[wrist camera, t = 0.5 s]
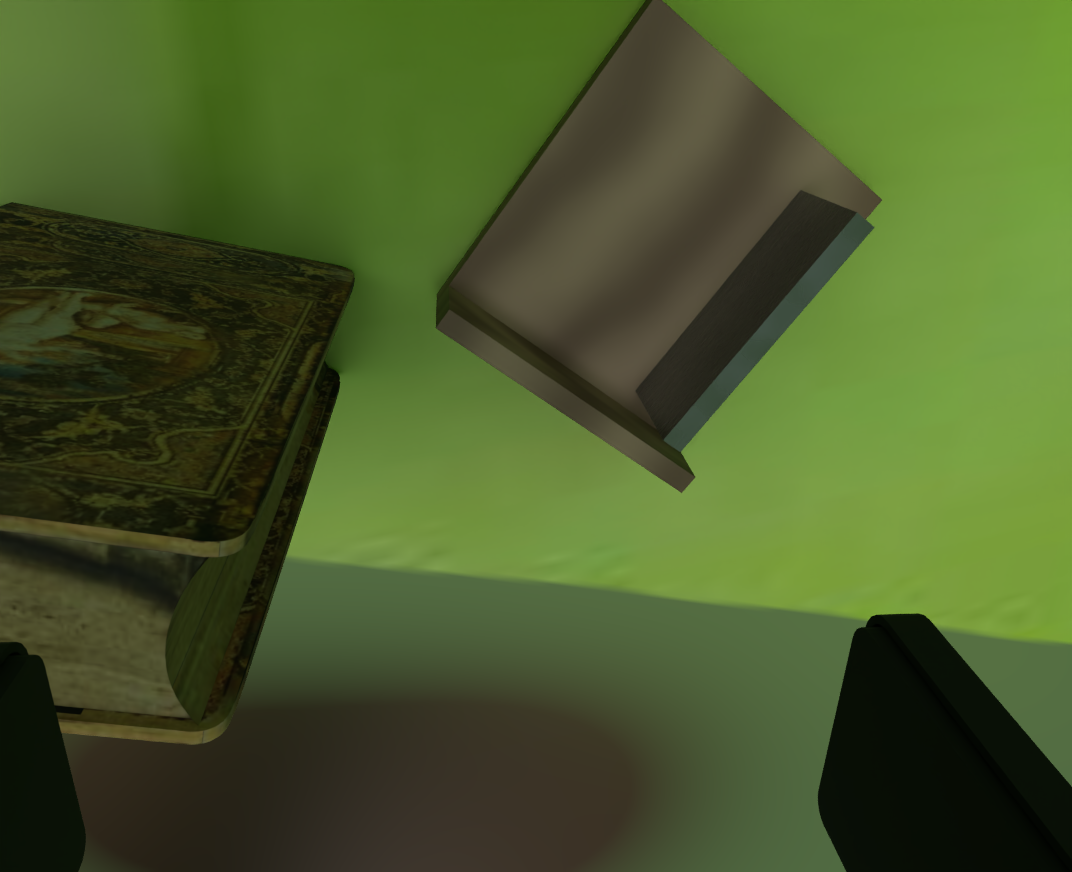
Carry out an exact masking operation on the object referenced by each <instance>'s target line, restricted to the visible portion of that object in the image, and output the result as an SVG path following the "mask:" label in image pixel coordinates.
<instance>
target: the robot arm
mask: <svg viewBox="0 0 1072 872" xmlns="http://www.w3.org/2000/svg"><path fill="white" fill-rule="evenodd" d="M818 805H819V812H820V816H821V819H822V822H823V824H824V827H825V829H826V831H827V833H828V835H829V837H830V839H831V841H832V843H833V845H834V847H835V849H836V851H837V853H838V855H839V857H840V859H841V862H842V864H843V866H844V868H845V870H846V872H1072V787H1071V785H1070V784H1069V783H1068V782H1067V781H1066V779H1065V778H1064V777H1063V776H1062V775H1061V774H1060V772H1059V771H1058V770H1057V769H1056V768H1055V767H1054V765H1053V764H1052V763H1051V762H1050V761H1049V760H1048V758H1047V757H1046V756H1045V755H1044V754H1043V753H1042V751H1041V750H1040V749H1039V748H1038V747H1037V746H1036V744H1035V743H1034V742H1033V741H1032V740H1031V738H1030V737H1029V736H1028V735H1027V734H1026V732H1025V731H1024V730H1023V729H1022V728H1021V727H1020V726H1019V724H1018V723H1017V722H1016V721H1015V720H1014V719H1013V717H1012V716H1011V715H1010V714H1009V713H1008V711H1007V710H1006V709H1005V708H1004V707H1003V706H1002V704H1001V703H1000V702H999V701H998V700H997V698H996V697H995V696H994V695H993V694H992V693H991V692H990V690H989V689H988V688H987V687H986V686H985V684H984V683H983V682H982V681H981V680H980V679H979V677H978V676H977V675H976V674H975V673H974V671H973V670H972V669H971V668H970V667H969V666H968V664H967V663H966V662H965V661H964V660H963V659H962V657H961V656H960V655H959V654H958V653H957V651H956V650H955V649H954V648H953V647H952V646H951V644H950V643H949V642H948V641H947V640H946V639H945V637H944V636H943V635H942V634H941V633H940V631H939V630H938V629H937V628H936V627H935V626H934V624H933V623H932V622H931V621H930V620H929V619H928V618H927V617H926V616H924V615H922V614H887V615H875V616H872V617H871V618H870V619H869V620H868V622H867V624H866V627H861V628H858V629H857V630H856V631H855V633H854V636H853V639H852V643H851V648H850V652H849V657H848V661H847V666H846V670H845V675H844V679H843V684H842V688H841V692H840V697H839V701H838V706H837V711H836V715H835V719H834V724H833V728H832V732H831V737H830V742H829V746H828V750H827V755H826V759H825V764H824V768H823V773H822V777H821V782H820V786H819V791H818ZM85 843H86V834H85V827H84V823H83V820H82V815H81V811H80V807H79V803H78V799H77V795H76V791H75V787H74V783H73V778H72V774H71V770H70V766H69V763H68V758H67V754H66V750H65V746H64V742H63V738H62V734H61V730H60V725H59V721H58V717H57V713H56V709H55V705H54V701H53V697H52V693H51V689H50V685H49V681H48V677H47V672H46V668H45V665H44V662H43V659H42V658H41V657H40V656H39V655H29V654H28V652H27V649H26V648H25V646H24V645H23V644H22V643H19V642H0V872H78V871H79V868H80V866H81V863H82V860H83V856H84V851H85Z"/></svg>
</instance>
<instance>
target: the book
mask: <svg viewBox="0 0 1072 872" xmlns="http://www.w3.org/2000/svg"><path fill="white" fill-rule="evenodd" d="M354 280H355V278H354V273H353V272H352V271H351V270H350V269H348V268H345V267H342V266H338V265H333V264H328V263H323V262H318V261H313V260H308V259H303V258H298V257H293V256H289V255H284V254H279V253H274V252H268V251H263V250H258V249H253V248H247V247H242V246H237V245H232V244H226V243H221V242H216V241H211V240H205V239H200V238H195V237H190V236H185V235H179V234H174V233H169V232H164V231H158V230H153V229H148V228H143V227H137V226H132V225H127V224H122V223H116V222H111V221H106V220H101V219H95V218H90V217H85V216H80V215H74V214H69V213H64V212H59V211H54V210H48V209H43V208H38V207H33V206H27V205H22V204H17V203H8V204H6V205H3V206H0V642H19V643H22V644H23V645H24V646H25V648H26V649H27V652H28V654H29V655H39V656H40V657H41V658H42V659H43V662H44V665H45V668H46V672H47V677H48V681H49V685H50V689H51V693H52V697H53V701H54V705H55V709H56V713H57V717H58V721H59V725H60V730H61V733H71V734H82V735H93V736H104V737H116V738H125V739H136V740H147V741H159V742H169V743H179V744H201V743H205V742H209V741H211V740H213V739H215V738H217V737H218V736H219V735H221V734H222V733H223V732H224V731H225V730H226V728H227V727H228V725H229V723H230V721H231V718H232V716H233V714H234V712H235V710H236V707H237V704H238V701H239V699H240V696H241V693H242V690H243V687H244V684H245V681H246V678H247V675H248V672H249V669H250V666H251V663H252V659H253V656H254V653H255V650H256V647H257V644H258V641H259V638H260V635H261V632H262V629H263V625H264V622H265V619H266V616H267V613H268V610H269V607H270V604H271V601H272V598H273V594H274V591H275V588H276V585H277V582H278V579H279V576H280V573H281V569H282V567H283V563H284V560H285V557H286V554H287V551H288V548H289V545H290V542H291V539H292V536H293V532H294V529H295V526H296V523H297V520H298V517H299V514H300V511H301V508H302V505H303V501H304V498H305V495H306V492H307V489H308V486H309V483H310V480H311V477H312V474H313V470H314V467H315V464H316V461H317V458H318V455H319V452H320V449H321V446H322V443H323V439H324V436H325V433H326V430H327V427H328V424H329V421H330V418H331V415H332V412H333V408H334V405H335V402H336V399H337V395H338V392H339V387H340V381H339V380H340V376H339V374H338V373H337V372H336V371H335V370H333V369H331V368H328V366H327V365H326V363H325V362H324V360H325V357H326V355H327V352H328V350H329V347H330V345H331V342H332V340H333V337H334V335H335V332H336V330H337V327H338V325H339V322H340V320H341V317H342V315H343V312H344V310H345V308H346V305H347V303H348V300H349V298H350V295H351V292H352V289H353V286H354Z"/></svg>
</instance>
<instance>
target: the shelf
mask: <svg viewBox="0 0 1072 872" xmlns="http://www.w3.org/2000/svg"><path fill="white" fill-rule="evenodd" d="M881 201H882V199H881V198H880V197H878V196H877V195H876V194H875V193H874V192H873V191H872V190H871V189H870V188H869V187H867V186H866V185H865V184H864V183H863V182H862V181H861V180H860V179H859V178H857V177H856V176H855V175H854V174H853V173H852V172H851V171H850V170H849V169H848V168H846V167H845V166H844V165H843V164H842V163H841V162H840V161H839V160H838V159H837V158H835V157H834V156H833V155H832V154H831V153H830V152H829V151H828V150H827V149H825V148H824V147H823V146H822V145H821V144H820V143H819V142H818V141H817V140H816V139H814V138H813V137H812V136H811V135H810V134H809V133H808V132H807V131H806V130H804V129H803V128H802V127H801V126H800V125H799V124H798V123H797V122H796V121H795V120H793V119H792V118H791V117H790V116H789V115H788V114H787V113H786V112H785V111H784V110H782V109H781V108H780V107H779V106H778V105H777V104H776V103H775V102H774V101H772V100H771V99H770V98H769V97H768V96H767V95H766V94H765V93H764V92H763V91H761V90H760V89H759V88H758V87H757V86H756V85H755V84H754V83H753V82H752V81H750V80H749V79H748V78H747V77H746V76H745V75H744V74H743V73H742V72H740V71H739V70H738V69H737V68H736V67H735V66H734V65H733V64H732V63H731V62H729V61H728V60H727V59H726V58H725V57H724V56H723V55H722V54H721V53H719V52H718V51H717V50H716V49H715V48H714V47H713V46H712V45H711V44H710V43H708V42H707V41H706V40H705V39H704V38H703V37H702V36H701V35H700V34H699V33H697V32H696V31H695V30H694V29H693V28H692V27H691V26H690V25H689V24H687V23H686V22H685V21H684V20H683V19H682V18H681V17H680V16H679V15H678V14H676V13H675V12H674V11H673V10H672V9H671V8H670V7H669V6H668V5H667V4H665V3H664V2H663V1H662V0H646V1H645V3H644V4H643V6H642V7H641V8H640V10H639V11H638V13H637V14H636V15H635V17H634V18H633V20H632V21H631V22H630V24H629V25H628V27H627V28H626V29H625V31H624V32H623V34H622V35H621V36H620V38H619V39H618V41H617V42H616V43H615V45H614V46H613V48H612V49H611V51H610V52H609V53H608V55H607V56H606V58H605V59H604V60H603V62H602V63H601V65H600V66H599V67H598V69H597V70H596V72H595V73H594V74H593V76H592V77H591V79H590V80H589V81H588V83H587V84H586V86H585V87H584V88H583V90H582V91H581V93H580V94H579V95H578V97H577V98H576V100H575V101H574V102H573V104H572V105H571V107H570V108H569V110H568V111H567V112H566V114H565V115H564V117H563V118H562V119H561V121H560V122H559V124H558V125H557V126H556V128H555V129H554V131H553V132H552V133H551V135H550V136H549V138H548V139H547V140H546V142H545V143H544V145H543V146H542V147H541V149H540V150H539V152H538V153H537V154H536V156H535V157H534V159H533V160H532V161H531V163H530V164H529V166H528V167H527V168H526V170H525V171H524V173H523V174H522V176H521V177H520V178H519V180H518V181H517V183H516V184H515V185H514V187H513V188H512V190H511V191H510V192H509V194H508V195H507V197H506V198H505V199H504V201H503V202H502V204H501V205H500V206H499V208H498V209H497V211H496V212H495V213H494V215H493V216H492V218H491V219H490V220H489V222H488V223H487V225H486V226H485V227H484V229H483V230H482V232H481V233H480V235H479V236H478V237H477V239H476V240H475V242H474V243H473V244H472V246H471V247H470V249H469V250H468V251H467V253H466V254H465V256H464V257H463V258H462V260H461V261H460V263H459V264H458V265H457V267H456V268H455V270H454V271H453V272H452V274H451V275H450V277H449V278H448V279H447V281H446V282H445V284H444V285H443V286H442V288H441V289H440V291H439V292H438V293H437V306H436V329H438V330H439V331H441V332H442V333H444V334H445V335H447V336H448V337H450V338H451V339H453V340H454V341H456V342H457V343H459V344H460V345H462V346H463V347H465V348H466V349H468V350H469V351H471V352H472V353H474V354H475V355H477V356H478V357H480V358H481V359H483V360H484V361H486V362H487V363H489V364H490V365H492V366H493V367H495V368H496V369H498V370H499V371H501V372H502V373H504V374H505V375H507V376H508V377H510V378H511V379H513V380H514V381H516V382H517V383H518V384H520V385H521V386H523V387H524V388H526V389H527V390H529V391H530V392H532V393H533V394H535V395H536V396H538V397H539V398H541V399H542V400H544V401H545V402H547V403H548V404H550V405H551V406H553V407H554V408H556V409H557V410H559V411H560V412H562V413H563V414H565V415H566V416H568V417H569V418H571V419H572V420H574V421H575V422H577V423H578V424H580V425H581V426H583V427H584V428H586V429H587V430H589V431H590V432H592V433H593V434H595V435H596V436H598V437H599V438H601V439H602V440H604V441H605V442H607V443H608V444H610V445H611V446H613V447H614V448H616V449H617V450H618V451H620V452H621V453H623V454H624V455H626V456H627V457H629V458H630V459H632V460H633V461H635V462H636V463H638V464H639V465H641V466H642V467H644V468H645V469H647V470H648V471H650V472H651V473H653V474H654V475H656V476H657V477H659V478H660V479H662V480H663V481H665V482H666V483H668V484H669V485H671V486H672V487H674V488H675V489H677V490H678V491H680V492H681V493H682V492H683V491H684V490H685V488H686V487H687V486H688V485H689V484H690V483H691V482H692V480H693V479H694V478H695V476H694V474H693V472H692V471H691V469H690V467H689V465H688V464H687V462H686V460H685V459H684V457H683V455H682V454H681V451H682V450H683V448H684V447H685V446H686V445H687V444H688V443H689V442H690V440H691V439H692V438H693V437H694V436H695V435H696V433H697V432H698V431H699V430H700V429H701V428H702V426H703V425H704V424H705V423H706V422H707V421H708V420H709V418H710V417H711V416H712V415H713V414H714V413H715V411H716V410H717V409H718V408H719V407H720V406H721V404H722V403H723V402H724V401H725V400H726V399H727V398H728V396H729V395H730V394H731V393H732V392H733V391H734V389H735V388H736V387H737V386H738V385H739V384H740V382H741V381H742V380H743V379H744V378H745V377H746V376H747V374H748V373H749V372H750V371H751V370H752V369H753V367H754V366H755V365H756V364H757V363H758V362H759V360H760V359H761V358H762V357H763V356H764V355H765V353H766V352H767V351H768V350H769V349H770V348H771V347H772V345H773V344H774V343H775V342H776V341H777V340H778V338H779V337H780V336H781V335H782V334H783V333H784V331H785V330H786V329H787V328H788V327H789V326H790V325H791V323H792V322H793V321H794V320H795V319H796V318H797V316H798V315H799V314H800V313H801V312H802V311H803V309H804V308H805V307H806V306H807V305H808V304H809V303H810V301H811V300H812V299H813V298H814V297H815V296H816V294H817V293H818V292H819V291H820V290H821V289H822V287H823V286H824V285H825V284H826V283H827V282H828V281H829V279H830V278H831V277H832V276H833V275H834V274H835V272H836V271H837V270H838V269H839V268H840V267H841V265H842V264H843V263H844V262H845V261H846V260H847V259H848V257H849V256H850V255H851V254H852V253H853V252H854V250H855V249H856V248H857V247H858V246H859V245H860V243H861V242H862V241H863V240H864V239H865V238H866V236H867V235H868V234H869V233H870V232H871V231H872V230H873V228H874V227H873V226H872V225H871V224H870V223H869V222H868V221H867V220H865V219H866V218H867V217H868V216H869V215H870V214H871V212H872V211H873V210H874V209H875V208H876V207H877V205H878V204H879V203H880V202H881Z"/></svg>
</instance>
